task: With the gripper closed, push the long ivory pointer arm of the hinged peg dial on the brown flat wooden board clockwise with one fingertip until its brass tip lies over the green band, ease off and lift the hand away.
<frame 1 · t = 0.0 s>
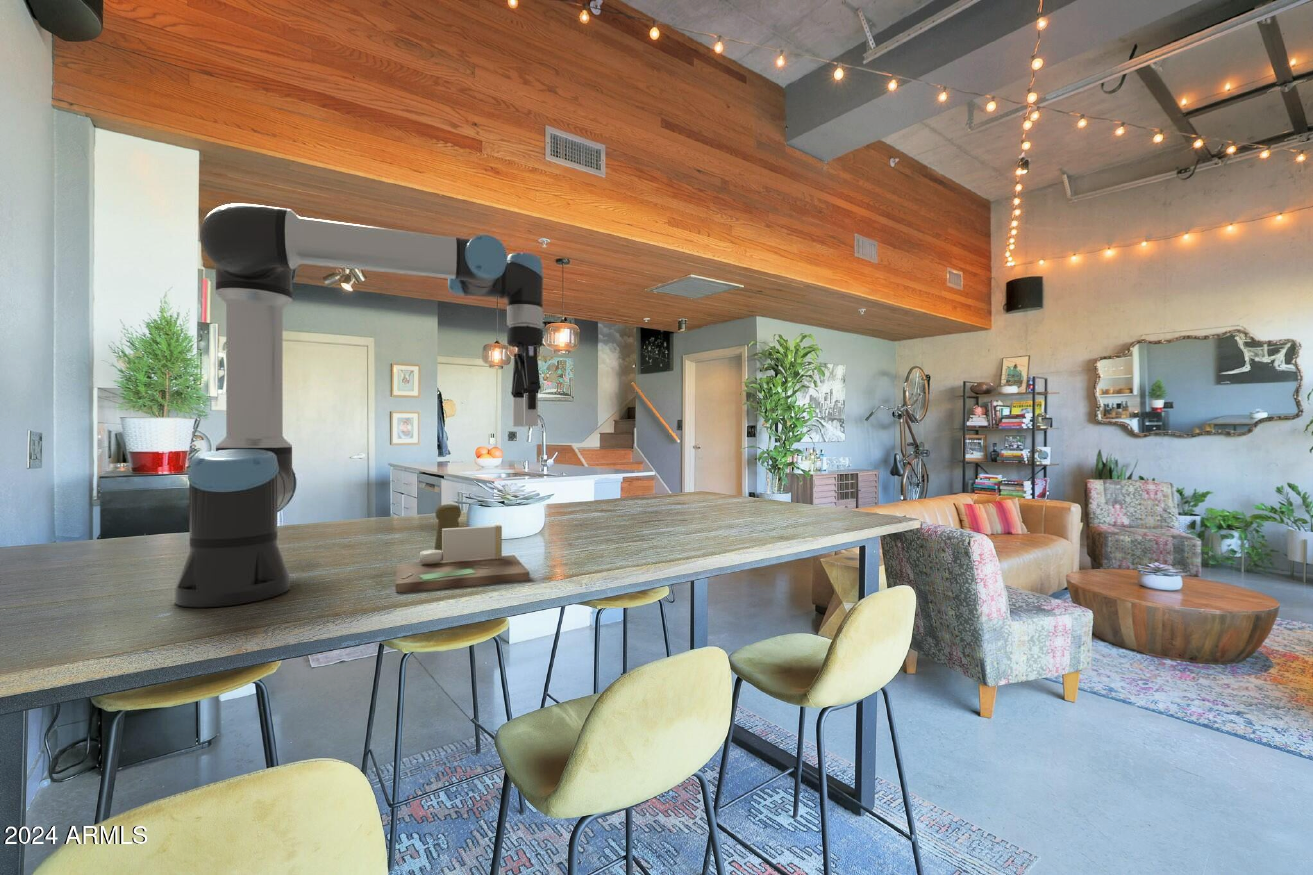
hand: (524, 426, 127), 28 cm above the table, fingers open, 13 cm apart
brown flat wooden board: (461, 575, 109), on the table
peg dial: (461, 543, 114), point 5 cm above the table, hinge at 0.0°
cork: (448, 556, 127), on the table
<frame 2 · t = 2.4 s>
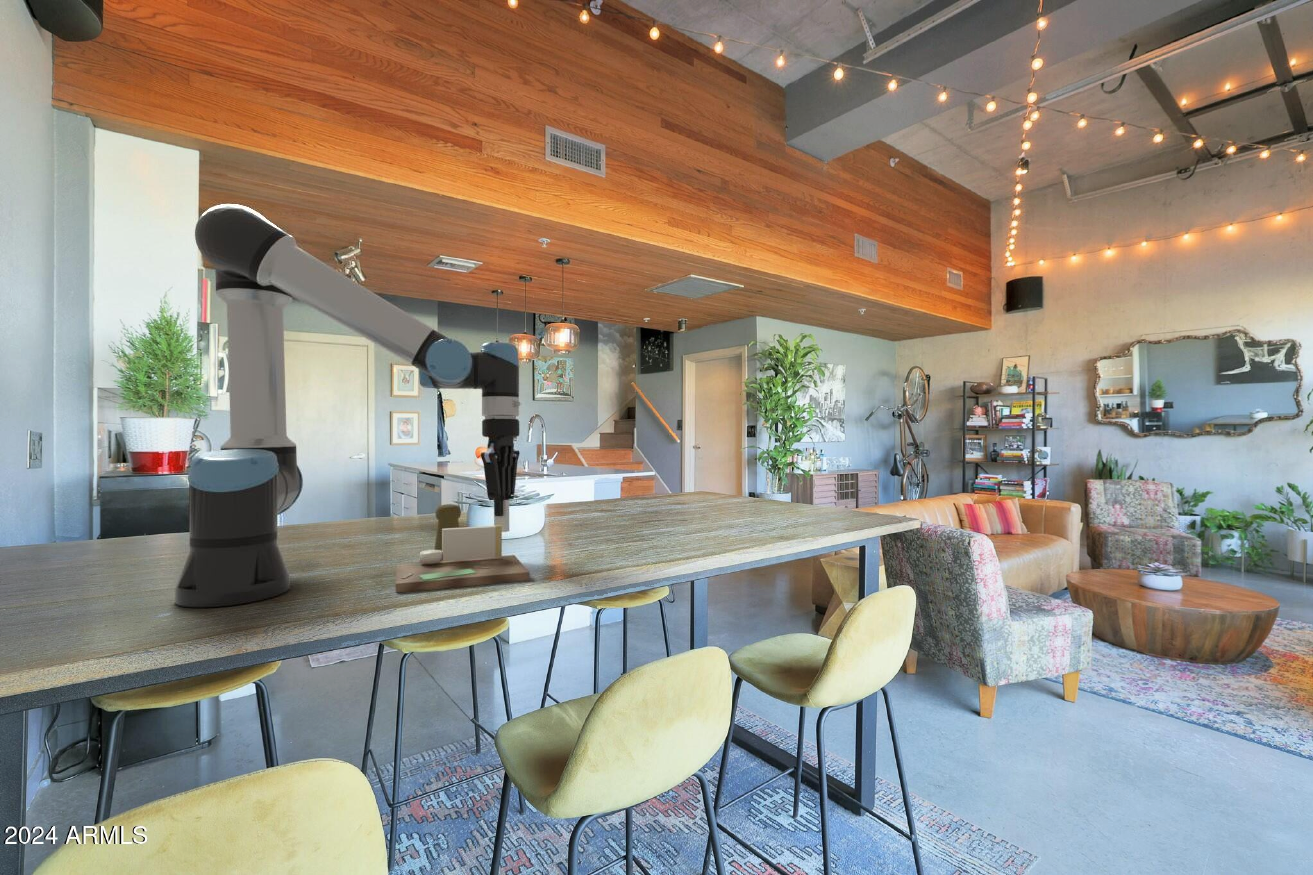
hand: (501, 531, 123), 6 cm above the table, fingers closed
nothing on the table moved.
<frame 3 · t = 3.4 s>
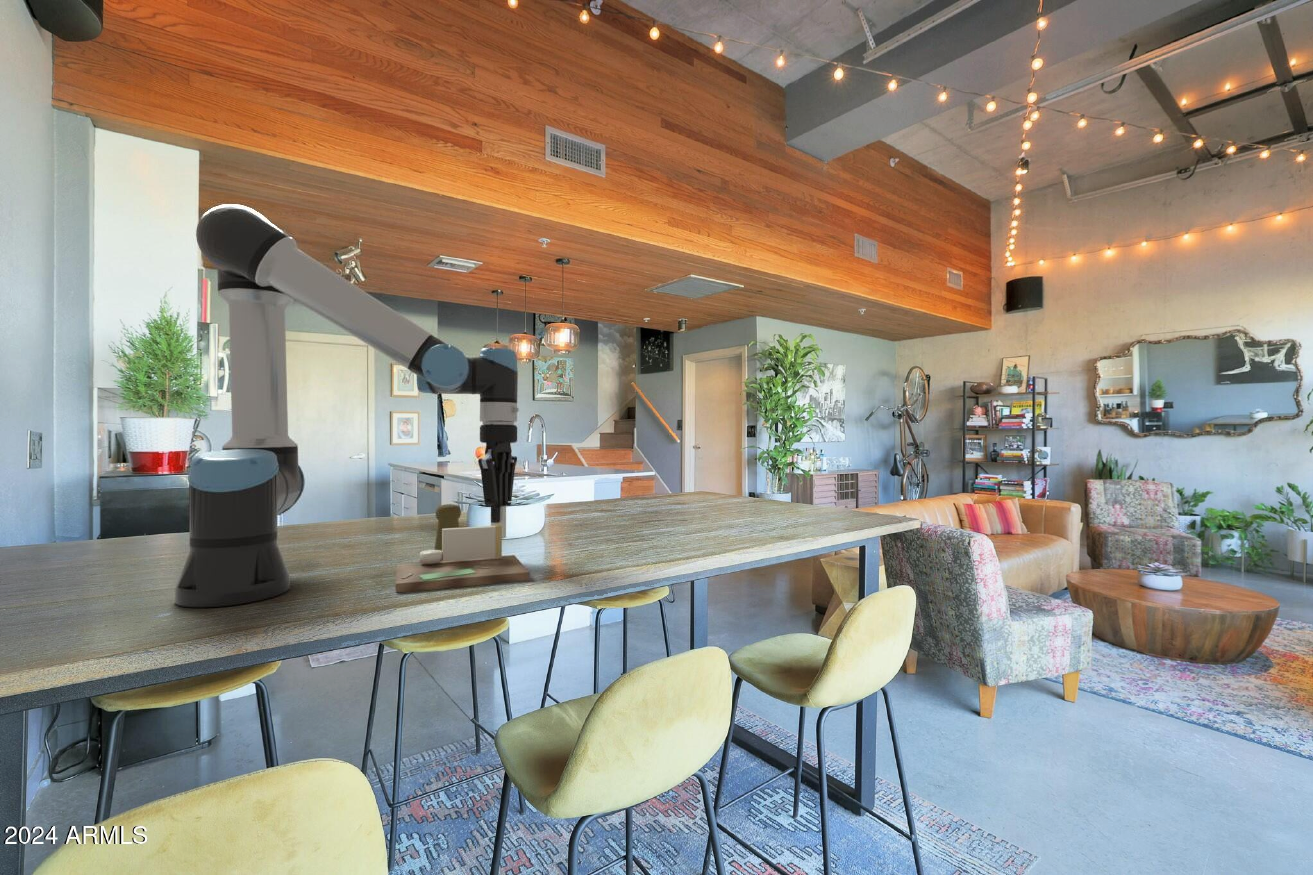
hand: (498, 537, 122), 5 cm above the table, fingers closed
nothing on the table moved.
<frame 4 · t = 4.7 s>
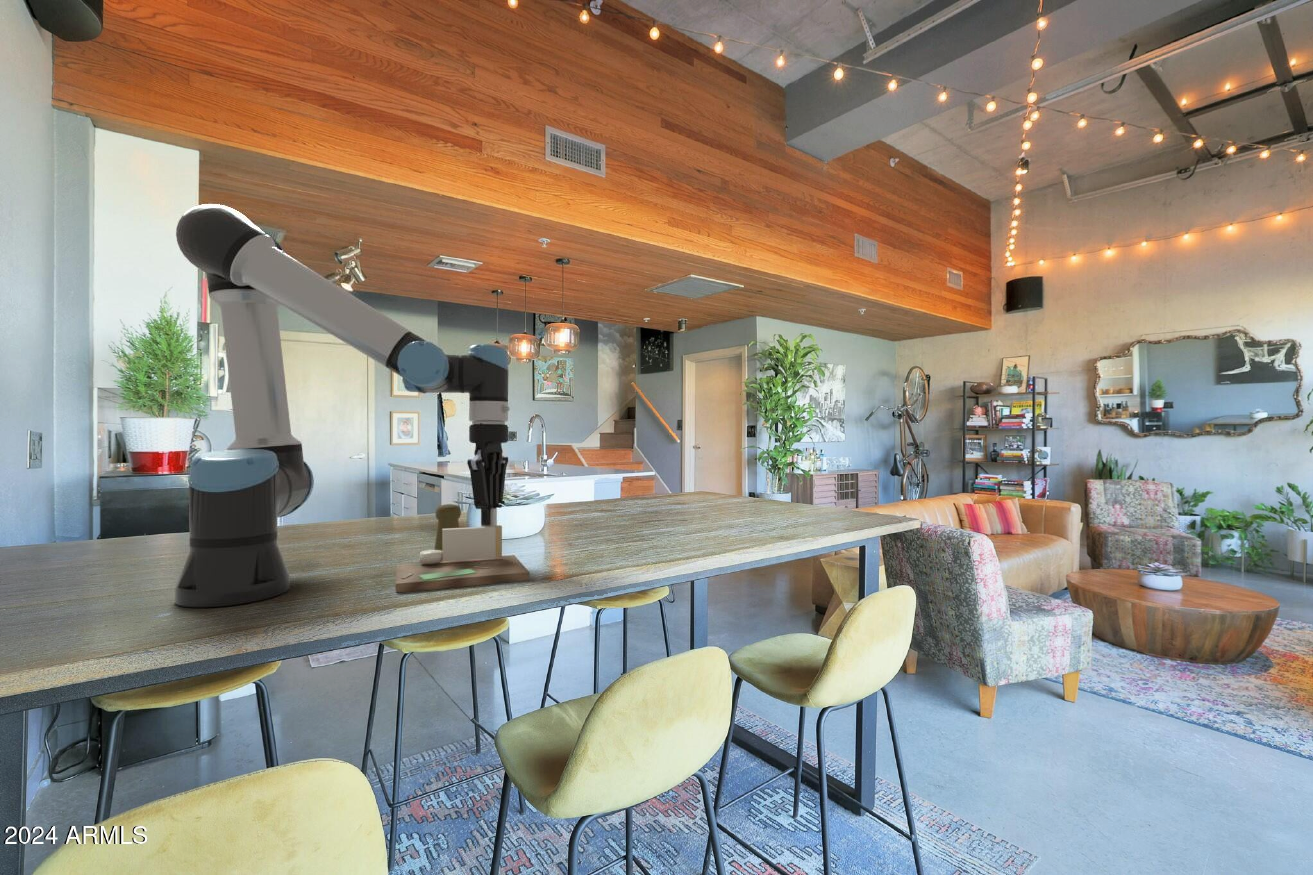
hand: (488, 540, 118), 5 cm above the table, fingers closed
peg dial: (461, 543, 114), point 5 cm above the table, hinge at -2.5°, touching gripper
everything else where it was.
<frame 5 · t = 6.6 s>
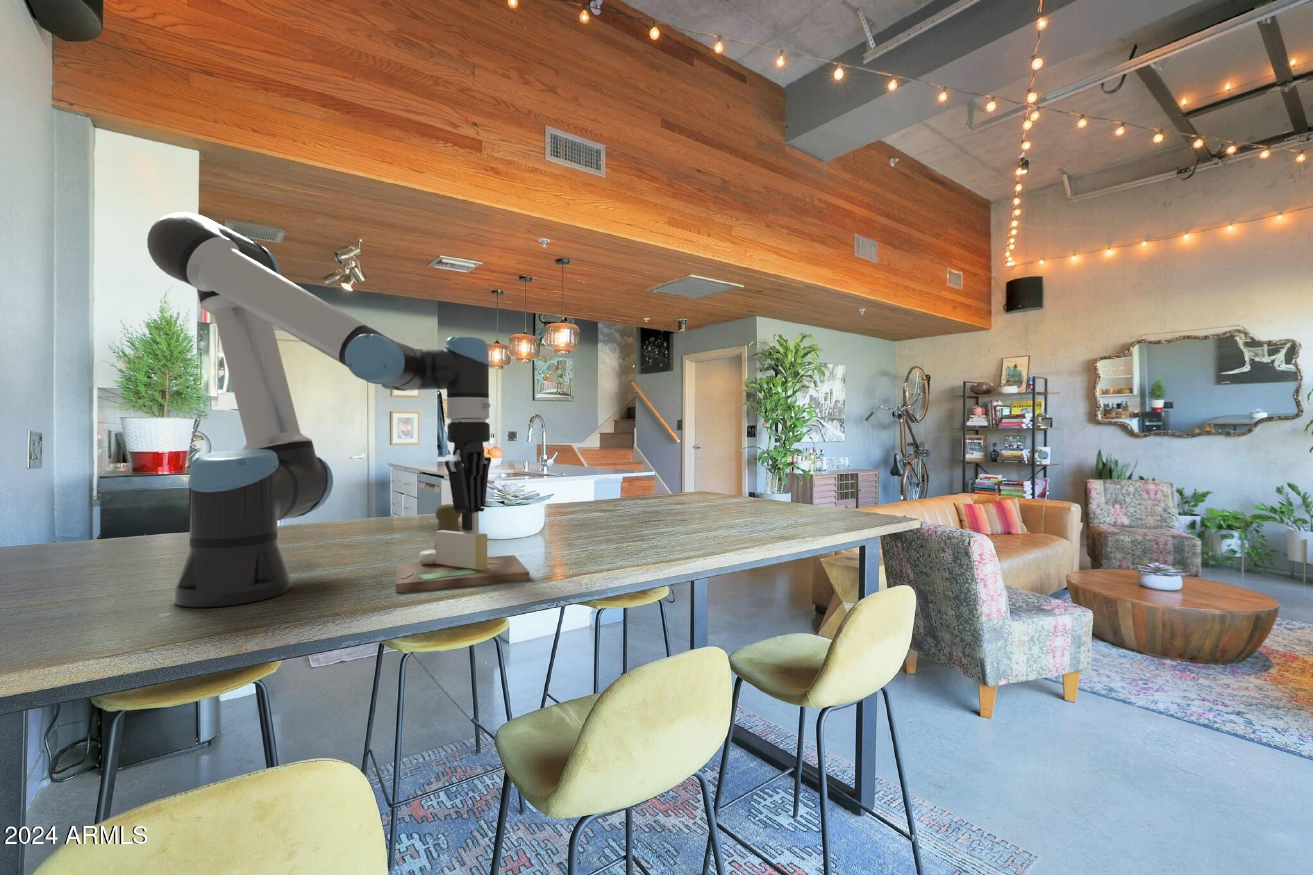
hand: (470, 547, 110), 5 cm above the table, fingers closed
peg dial: (452, 547, 110), point 5 cm above the table, hinge at -49.0°, touching gripper
everything else where it was.
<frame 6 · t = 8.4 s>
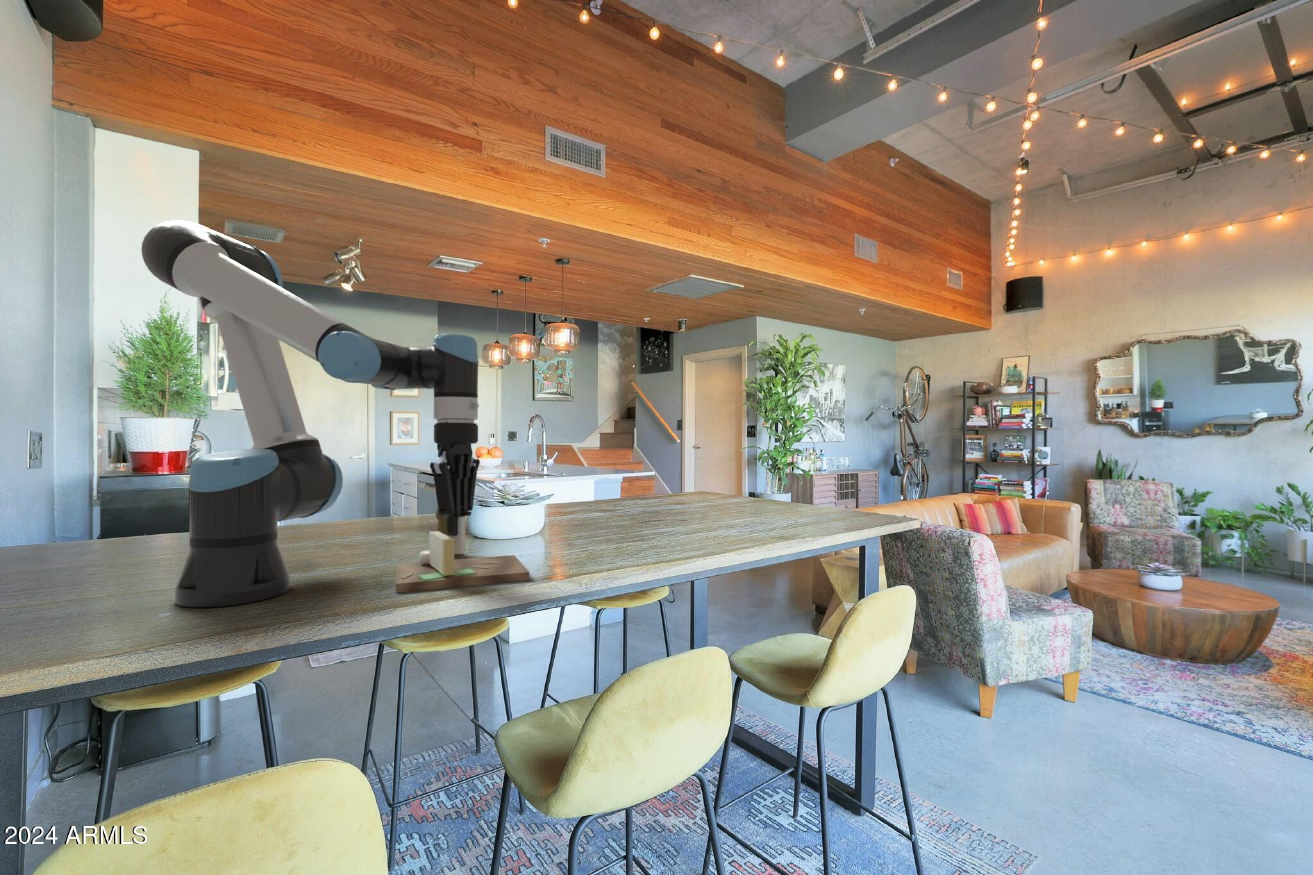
hand: (456, 552, 106), 5 cm above the table, fingers closed
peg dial: (438, 550, 107), point 5 cm above the table, hinge at -79.3°, touching gripper
everything else where it was.
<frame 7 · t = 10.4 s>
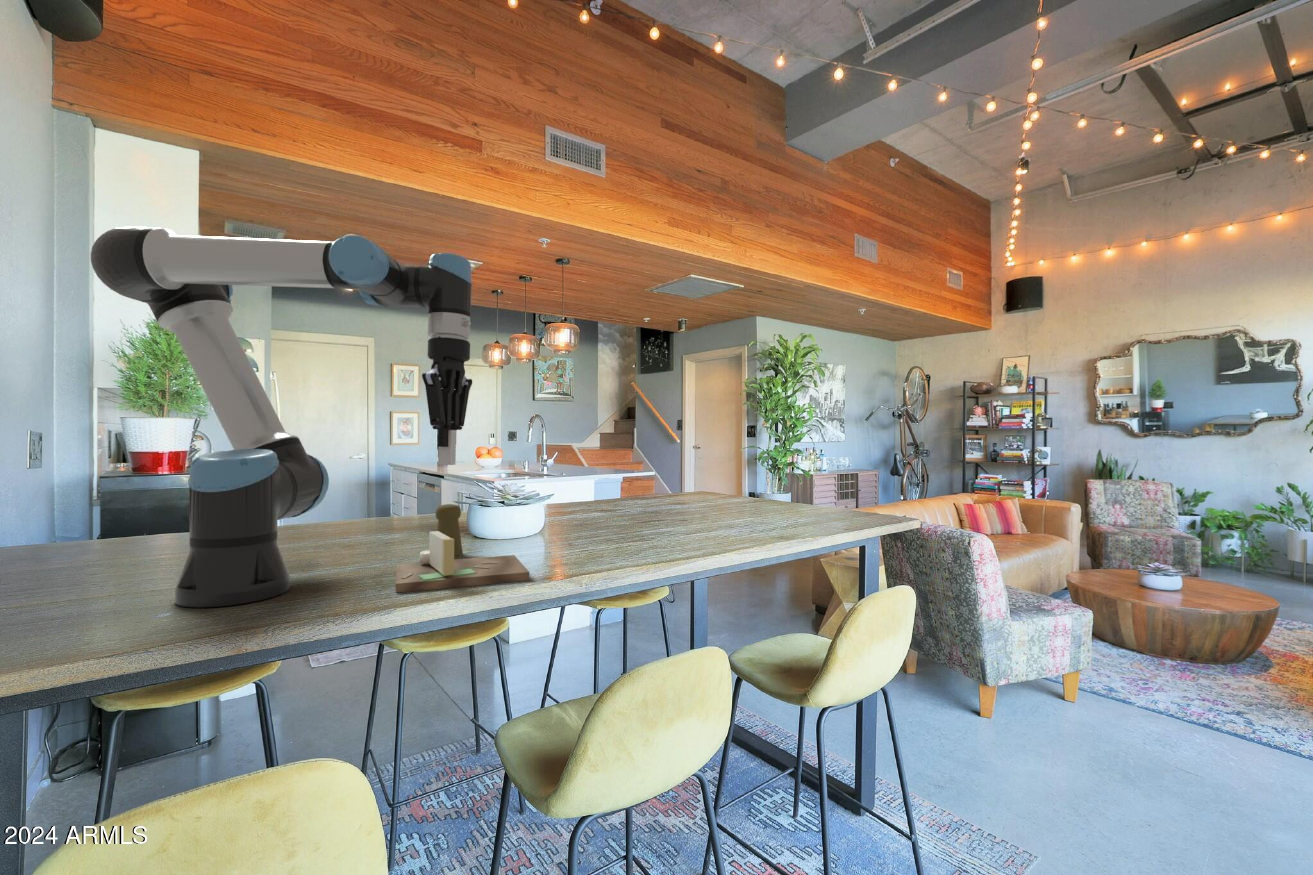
hand: (446, 464, 111), 21 cm above the table, fingers closed
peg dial: (438, 550, 107), point 5 cm above the table, hinge at -79.4°
everything else where it was.
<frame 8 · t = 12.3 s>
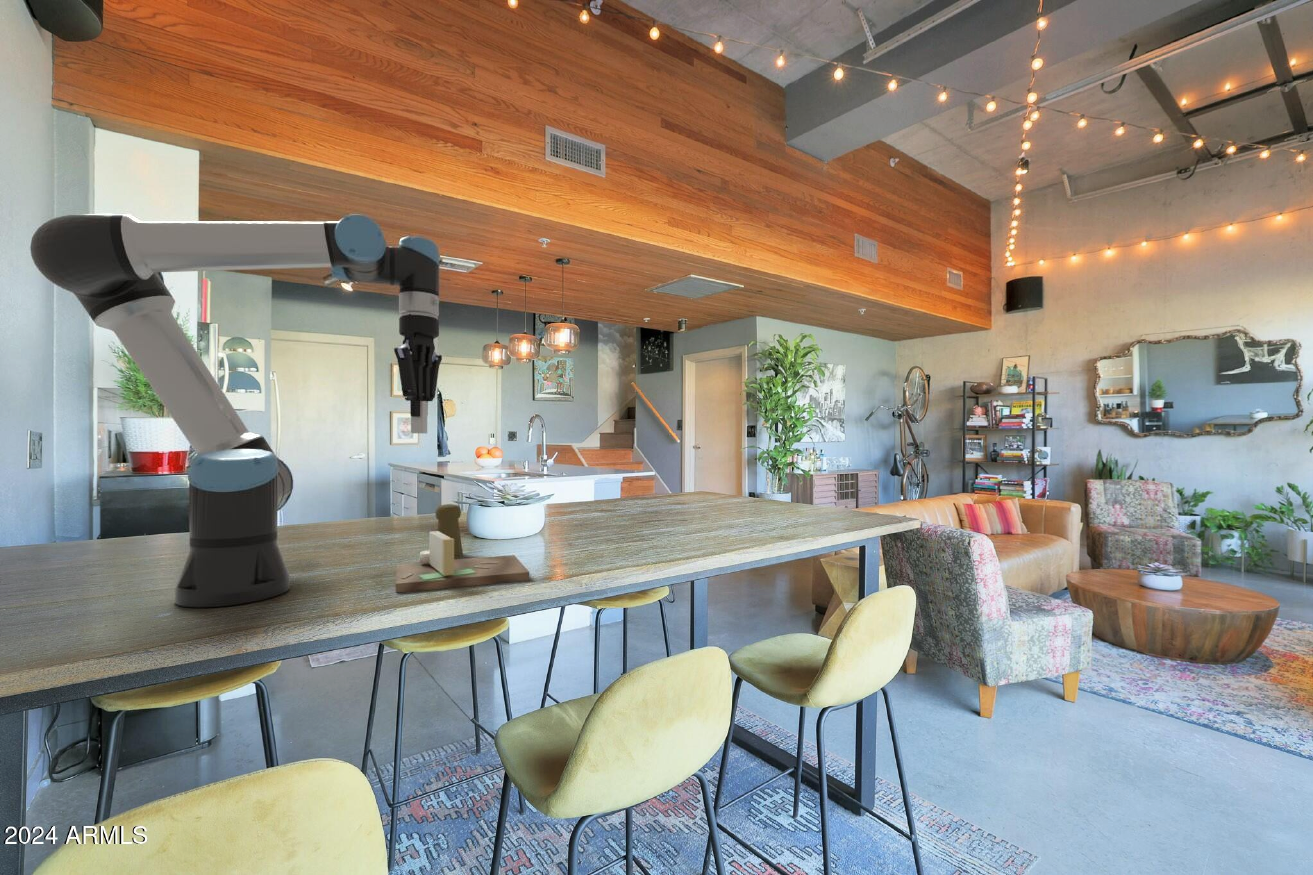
hand: (419, 433, 119), 26 cm above the table, fingers closed
nothing on the table moved.
at the end: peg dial at -79° (first picture: +0°) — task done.
